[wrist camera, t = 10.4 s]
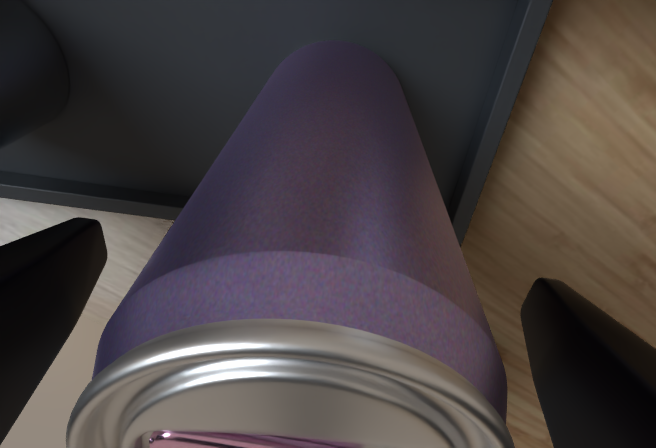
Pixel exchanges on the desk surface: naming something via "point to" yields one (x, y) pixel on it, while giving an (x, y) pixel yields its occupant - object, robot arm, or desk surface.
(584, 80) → the desk surface
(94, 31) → the tray
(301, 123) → the beverage can
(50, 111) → the can
